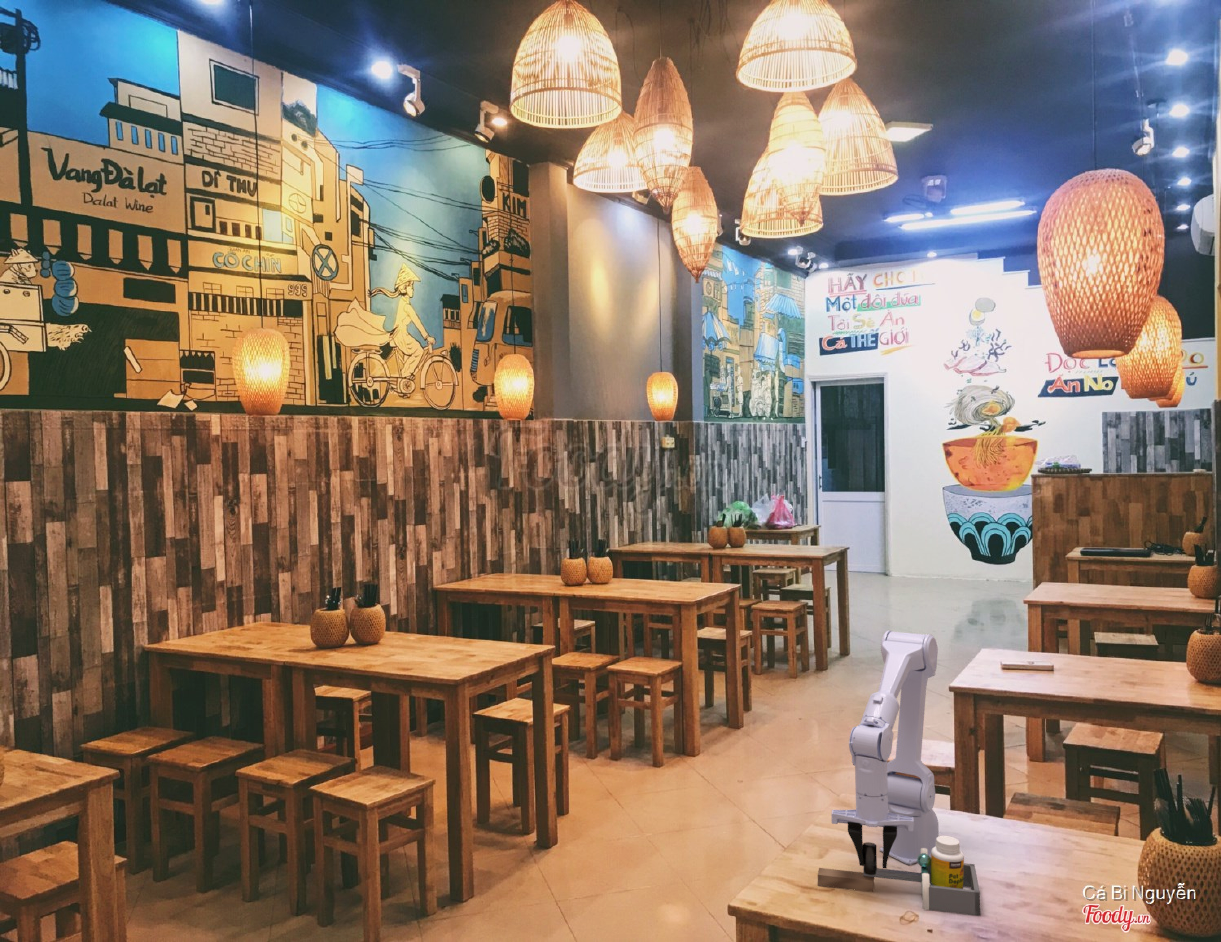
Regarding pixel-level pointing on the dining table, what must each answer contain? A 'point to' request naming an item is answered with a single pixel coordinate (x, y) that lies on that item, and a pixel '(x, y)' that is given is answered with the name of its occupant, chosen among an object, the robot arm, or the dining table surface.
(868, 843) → the slider rail assembly
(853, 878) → the guide
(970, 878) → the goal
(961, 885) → the supplement bottle
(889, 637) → the robot arm
